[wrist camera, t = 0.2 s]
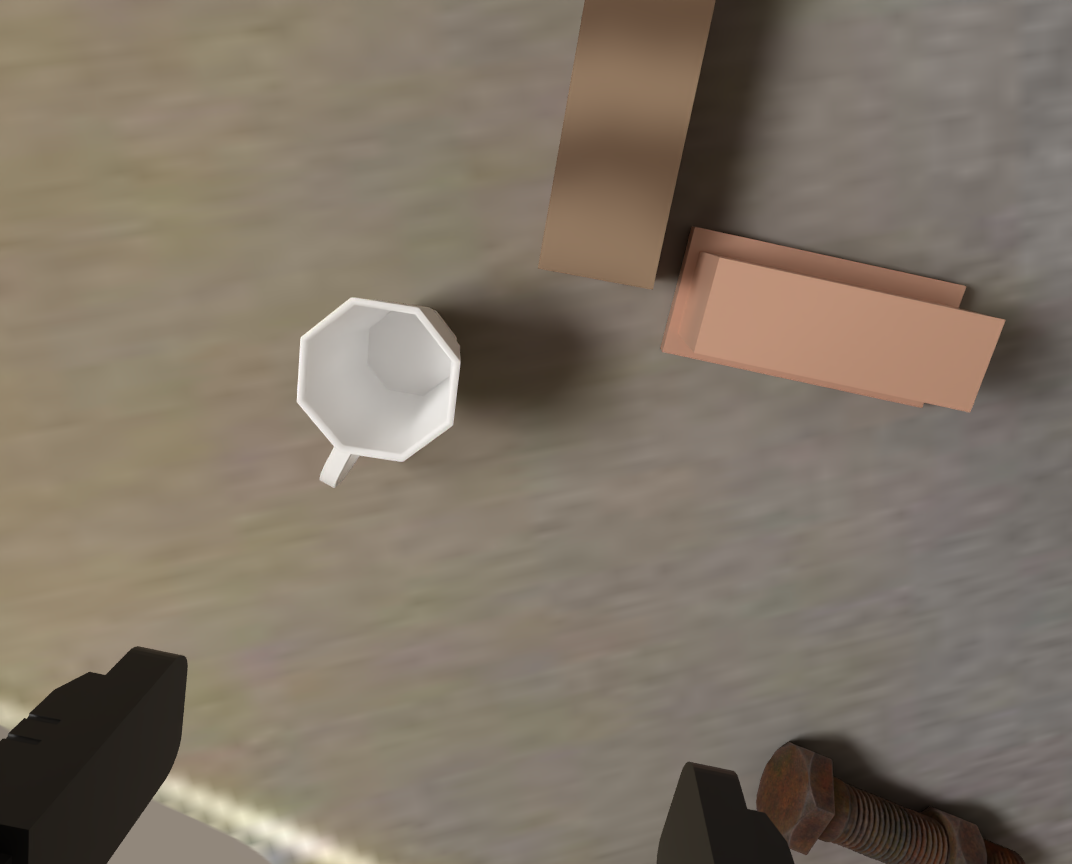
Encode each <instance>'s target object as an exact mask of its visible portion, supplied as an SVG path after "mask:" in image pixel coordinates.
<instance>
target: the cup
mask: <svg viewBox="0 0 1072 864" xmlns="http://www.w3.org/2000/svg"><path fill="white" fill-rule="evenodd" d="M456 340H457V337H456V336H455V334H454V333H453V332H452V330H451V329H450V328H449V327H448V325H447V324H446V323H445V321H444V320H443V319H442V317H441V316H440V315H439V314H438V312H437V311H436V310H432V309H431V308H430V307H423V306H417V305H410V304H404V303H397V302H390V301H384V300H370V299H363V298H354V297H351V298H350V299H348V300H347V301H346V302H345V303H343V304H342V305H341V306H340V307H338V308H337V309H336V310H335V311H333V312H332V313H331V314H330V315H328V316H327V317H326V318H325V319H323V320H322V321H321V322H319V323H318V324H317V325H316V326H314V327H313V328H312V329H311V330H309V331H308V332H307V333H306V334H304V335H303V336H302V337H301V340H300V357H299V373H298V390H297V403H298V404H299V405H300V406H301V407H302V409H303V410H304V411H305V412H306V413H307V415H308V416H309V417H310V418H311V419H312V421H313V422H314V423H315V424H316V425H317V426H318V428H319V429H320V430H321V431H322V432H323V434H324V435H325V436H326V437H327V438H328V440H329V441H330V442H331V443H332V444H333V446H334V448H333V450H332V452H331V454H330V456H329V458H328V459H327V461H326V463H325V465H324V467H323V470H322V472H321V475H320V480H321V481H323V482H324V483H326V484H328V485H330V486H332V487H333V488H335V487H337V486H338V485H339V484H340V483H341V482H342V481H343V479H344V478H345V477H346V475H347V474H348V473H349V471H350V470H351V468H352V467H353V465H354V464H355V462H356V461H357V459H358V458H359V456H367V457H374V458H380V459H387V460H393V461H400V462H403V461H405V460H406V459H408V458H409V457H410V456H412V455H413V454H414V453H416V452H417V451H419V450H420V449H421V448H423V447H424V446H425V445H427V444H428V443H430V442H431V441H432V440H434V439H435V438H436V437H438V436H439V435H441V434H442V433H443V432H445V431H446V430H447V429H449V428H450V427H452V426H453V421H454V413H455V405H456V396H457V388H458V380H459V371H460V363H461V357H460V345H459V344H458V342H457V341H456Z"/></svg>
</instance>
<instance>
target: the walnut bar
mask: <svg viewBox="0 0 1072 864" xmlns="http://www.w3.org/2000/svg"><path fill="white" fill-rule="evenodd" d="M715 1H716V0H585V3H584V8H583V14H582V20H581V25H580V31H579V37H578V43H577V48H576V54H575V60H574V65H573V71H572V77H571V83H570V88H569V94H568V100H567V105H566V111H565V117H564V123H563V128H562V134H561V140H560V145H559V151H558V157H557V163H556V168H555V174H554V180H553V185H552V191H551V197H550V203H549V208H548V214H547V220H546V225H545V231H544V237H543V243H542V248H541V254H540V260H539V265H538V269H544V270H549V271H555V272H560V273H566V274H571V275H576V276H582V277H587V278H593V279H598V280H604V281H609V282H614V283H620V284H625V285H631V286H636V287H642V288H647V289H652V290H653V286H654V281H655V277H656V272H657V268H658V263H659V258H660V254H661V249H662V245H663V240H664V235H665V231H666V226H667V222H668V217H669V212H670V208H671V203H672V199H673V194H674V190H675V185H676V180H677V176H678V171H679V167H680V162H681V157H682V153H683V148H684V144H685V139H686V134H687V130H688V125H689V121H690V116H691V112H692V107H693V102H694V98H695V93H696V89H697V84H698V79H699V75H700V70H701V66H702V61H703V56H704V52H705V47H706V43H707V38H708V34H709V29H710V24H711V20H712V15H713V11H714V6H715Z"/></svg>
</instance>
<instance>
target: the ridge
mask: <svg viewBox="0 0 1072 864" xmlns="http://www.w3.org/2000/svg"><path fill="white" fill-rule="evenodd" d="M965 289H966V286H963V285H959V284H954V283H950V282H945V281H940V280H936V279H931V278H927V277H922V276H918V275H913V274H908V273H904V272H899V271H895V270H890V269H886V268H881V267H877V266H872V265H867V264H863V263H858V262H854V261H849V260H845V259H840V258H835V257H831V256H826V255H822V254H817V253H813V252H808V251H803V250H799V249H794V248H790V247H785V246H781V245H776V244H772V243H767V242H762V241H758V240H753V239H749V238H744V237H740V236H735V235H730V234H726V233H721V232H717V231H712V230H708V229H703V228H699V227H694V226H692V227H691V231H690V235H689V239H688V243H687V247H686V251H685V255H684V258H683V262H682V266H681V270H680V274H679V278H678V282H677V286H676V289H675V293H674V297H673V301H672V305H671V309H670V313H669V316H668V320H667V324H666V328H665V332H664V336H663V340H662V344H661V347H660V349H661V350H662V352H666V353H670V354H675V355H680V356H684V357H689V358H693V359H698V360H703V361H707V362H712V363H717V364H721V365H726V366H730V367H735V368H740V369H744V370H749V371H754V372H758V373H763V374H767V375H772V376H777V377H781V378H786V379H791V380H795V381H800V382H805V383H809V384H814V385H818V386H823V387H828V388H832V389H837V390H842V391H846V392H851V393H855V394H860V395H865V396H869V397H874V398H879V399H883V400H888V401H893V402H897V403H902V404H906V405H911V406H916V407H920V408H922V407H923V404H924V403H929V404H933V405H938V406H943V407H947V408H952V409H956V410H961V411H966V412H971V409H972V406H973V404H974V401H975V399H976V396H977V393H978V391H979V388H980V386H981V383H982V380H983V378H984V375H985V373H986V370H987V367H988V365H989V362H990V359H991V357H992V354H993V352H994V349H995V346H996V344H997V341H998V339H999V336H1000V333H1001V331H1002V328H1003V325H1004V323H1005V320H1004V319H1000V318H996V317H992V316H989V315H985V314H981V313H977V312H973V311H969V310H966V309H962V308H959V305H960V303H961V300H962V297H963V294H964V292H965Z"/></svg>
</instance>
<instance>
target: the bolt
mask: <svg viewBox="0 0 1072 864" xmlns="http://www.w3.org/2000/svg"><path fill="white" fill-rule="evenodd" d="M756 806H757V811H759V812H764V813H766V814H767V816H768V817H769V818H770V820H771V821H772V822H773V824H774V825H775V826H776V828H777V829H778V830H779V832H780V833H781V834H782V836H783V837H784V838H785V840H786V841H787V843H788V846H789V848H790V849H792V850H795V851H797V852H800V853H802V854H805V855H807V854H808V852H809V851H810V850H811V848H812V847H813V845H814V844H815V842H816V841H817V840H818V839H820V840H822V841H825V842H832V843H834V844H838V845H841V846H843V847H846V848H848V849H851V850H853V851H855V852H858V853H860V854H863V855H865V856H868V857H870V858H873V859H875V860H879V861H881V862H883V863H886V864H1025V862H1024V861H1023V859H1022V858H1021V856H1020V855H1019V854H1018V853H1016V852H1015V851H1012V850H1010V849H1008V848H1006V847H1003V846H1001V845H998V844H995V843H993V842H991V841H988V840H986V839H983V838H982V836H981V833H980V831H979V829H978V826H977V825H975V824H973V823H971V822H968V821H966V820H963V819H961V818H958V817H956V816H953V815H951V814H948V813H946V812H943V811H941V810H939V809H936V808H934V807H931V806H930V807H928V808H927V809H925V810H924V811H922V812H921V813H919V812H916V811H913V810H910V809H908V808H905V807H902V806H901V805H897V804H896V803H893V802H891V801H889V800H886V799H883V798H881V797H878V796H876V795H873V794H871V793H868V792H866V791H863V790H861V789H858V788H856V787H854V786H851V785H848V784H846V783H844V782H843V781H842V780H840V779H838V778H836V777H833V764H832V759H830V758H828V757H825V756H823V755H820V754H818V753H815V752H813V751H810V750H808V749H805V748H803V747H800V746H798V745H795V744H792V743H790V742H787V743H786V744H784V745H783V746H782V747H780V748H779V749H778V750H777V751H776V752H775V753H774V754H773V756H772V758H771V759H770V760H769V762H768V763H767V765H766V767H765V769H764V772H763V774H762V777H761V780H760V785H759V789H758V793H757V800H756Z"/></svg>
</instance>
